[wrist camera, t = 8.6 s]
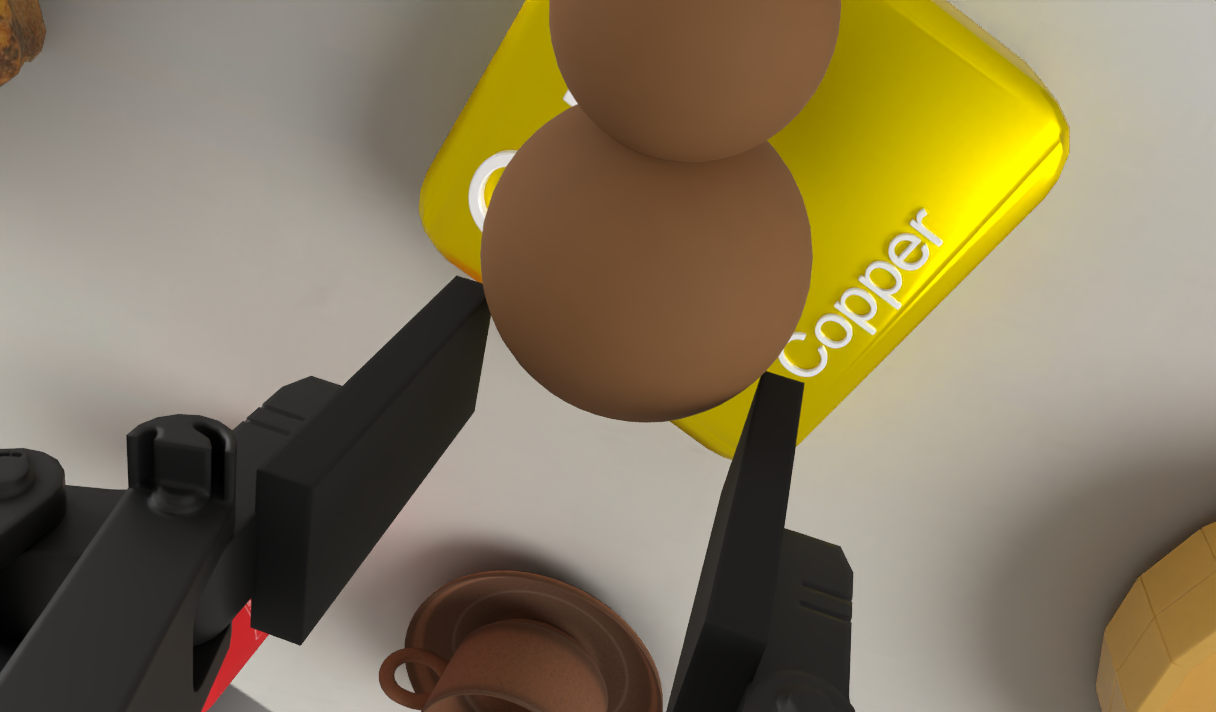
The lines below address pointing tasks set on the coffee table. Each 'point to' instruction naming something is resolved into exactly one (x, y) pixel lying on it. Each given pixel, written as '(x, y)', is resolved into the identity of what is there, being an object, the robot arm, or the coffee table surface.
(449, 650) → the cup and saucer
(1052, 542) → the coffee table surface
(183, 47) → the coffee table surface
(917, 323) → the element tile
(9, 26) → the rough brown rock
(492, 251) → the plush bear
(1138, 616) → the ochre bowl
